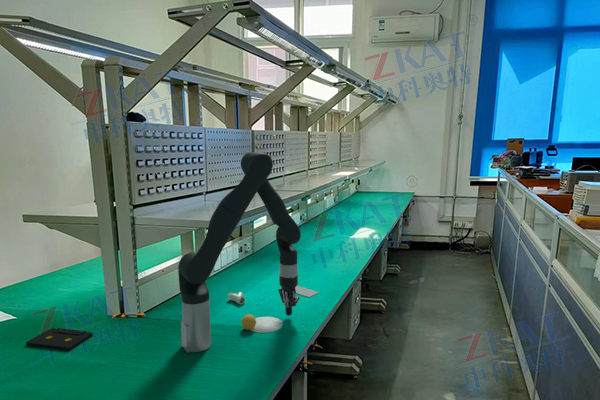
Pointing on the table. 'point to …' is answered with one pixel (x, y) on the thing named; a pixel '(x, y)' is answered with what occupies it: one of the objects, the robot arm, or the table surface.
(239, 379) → the table surface
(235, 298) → the pipe fitting
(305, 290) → the smartphone
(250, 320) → the ball
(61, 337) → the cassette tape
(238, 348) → the table surface
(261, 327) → the disc
